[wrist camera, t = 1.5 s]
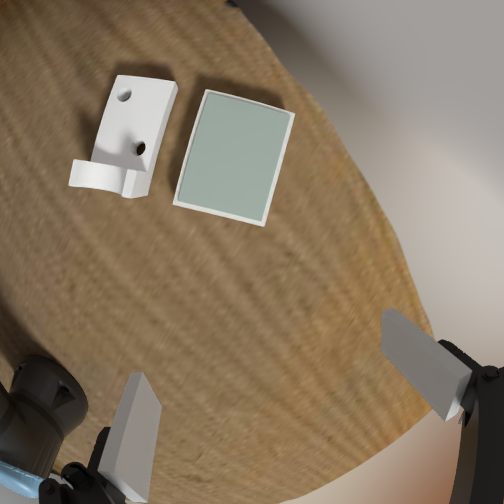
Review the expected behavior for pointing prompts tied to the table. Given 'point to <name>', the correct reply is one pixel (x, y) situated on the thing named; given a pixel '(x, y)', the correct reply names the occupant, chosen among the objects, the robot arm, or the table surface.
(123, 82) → the bracket
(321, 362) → the table surface
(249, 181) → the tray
